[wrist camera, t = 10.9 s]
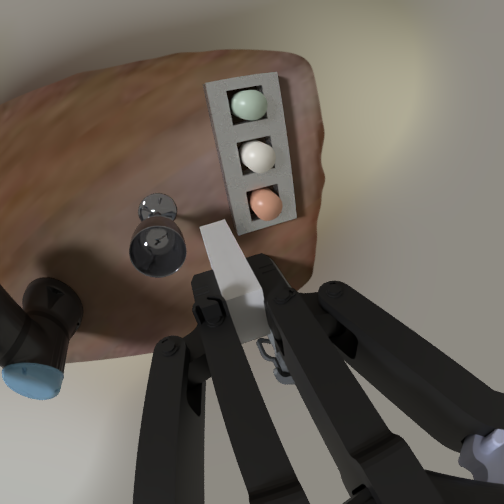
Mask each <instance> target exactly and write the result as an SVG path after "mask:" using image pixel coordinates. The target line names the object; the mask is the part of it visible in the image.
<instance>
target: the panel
mask: <svg viewBox="0 0 504 504" xmlns="http://www.w3.org/2000/svg"><path fill="white" fill-rule="evenodd" d="M252 86H256V87H257V91H259V92H261V93H262V94H263V95H264V96H265V98H266V100H267V104H268V106H267V111H266V113H265V114H264V115H263V116H262V118H259V119H257V120H246V121H241V122H237V123H232V118H231V113H230V108H229V103H228V98H227V93H226V91H229V90H234V89H240V88H246V87H252ZM203 88H204V93H205V98H206V103H207V107H208V112H209V117H210V121H211V126H212V131H213V135H214V140H215V145H216V149H217V154H218V158H219V163H220V167H221V172H222V176H223V181H224V185H225V190H226V194H227V199H228V203H229V208H230V212H231V217H232V221H233V225H234V229H235V231H236V233H237V234H238V235H242V234H245V233H248V232H252V231H255V230H258V229H262V228H265V227H268V226H272V225H275V224H278V223H282V222H285V221H288V220H292V219H295V218H297V214H296V205H295V196H294V187H293V178H292V170H291V162H290V154H289V147H288V139H287V132H286V125H285V118H284V112H283V105H282V99H281V92H280V86H279V80H278V74H277V72H271V73H263V74H255V75H248V76H241V77H235V78H230V79H224V80H219V81H214V82H209V83H205V84H203ZM260 137H265V140H266V144H267V145H269V146H270V147H272V148H273V150H274V152H275V155H276V160H275V164H274V166H273V167H272V168H271V169H270V170H269V171H267V172H265V173H256V172H253V171H252V170H251V169H247V170H244V171H242V169H241V164H240V159H239V154H238V149H237V143H238V142H242V141H247V140H251V139H256V138H260ZM270 185H273V191H274V193H275V194H276V195H277V196H278V197H279V198H280V199H281V201H282V205H283V207H282V211H281V213H280V214H279V216H278V217H277V218H275V219H273V220H270V221H264V220H261V219H260V218H259V217H258V216H257V215H256V214H255V213H254V214H250V211H249V205H248V200H247V195H246V192H247V191H251V190H255V189H259V188H262V187H266V186H270Z"/></svg>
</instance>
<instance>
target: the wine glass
mask: <svg viewBox="0 0 504 504" xmlns="http://www.w3.org/2000/svg"><path fill="white" fill-rule="evenodd" d="M138 214H139V218H140V220H141V223H140V224H139V225H138V226H137V228H136V229H135V231H134V233H133V235H132V238H131V242H130V249H129V255H130V259H131V262H132V264H133V265H134V267H135V268H136V269H137V270H138V271H139V272H141V273H142V274H144V275H146V276H150V277H155V278H160V277H166V276H169V275H171V274H173V273H175V272H176V271H177V270H178V269H179V268H180V267H181V266H182V265H183V263H184V261H185V258H186V244H185V240H184V237H183V234H182V232H181V230H180V228H179V227H178V226H177V224H176V223H175V222H174V220H175V218H176V214H177V208H176V205H175V203H174V201H173V200H172V199H171V198H170V197H169V196H167V195H165V194H161V193H155V194H151V195H149V196H147V197H146V198H144V199H143V200H142V202H141V203H140V206H139V210H138Z"/></svg>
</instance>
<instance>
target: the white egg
mask: <svg viewBox="0 0 504 504" xmlns="http://www.w3.org/2000/svg"><path fill="white" fill-rule="evenodd" d="M239 158H240V160H241V162H242V163H243V164H244V165H246V166H247V167H248V168H249V169H251V170H252V171H253V172H256V173H265V172H267V171H269V170H270V169H271V168H272V167H273V166H274V164H275V160H276V155H275V152H274V150H273V148H272V147H270V146H269V145H267V144H265V143H263V142H260V141H258V140H254V139H251V140H247V141H246V142H244V143H243V144H242V145H241V147H240V149H239Z"/></svg>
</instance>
